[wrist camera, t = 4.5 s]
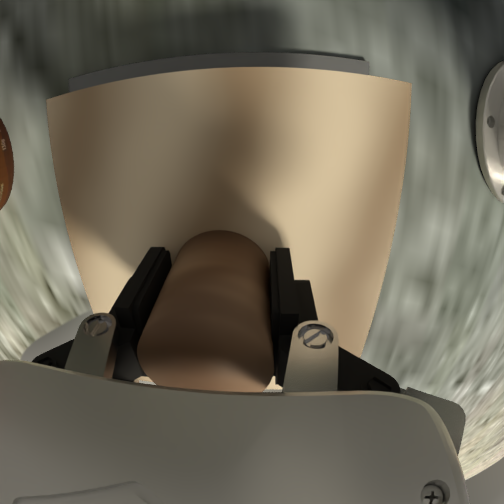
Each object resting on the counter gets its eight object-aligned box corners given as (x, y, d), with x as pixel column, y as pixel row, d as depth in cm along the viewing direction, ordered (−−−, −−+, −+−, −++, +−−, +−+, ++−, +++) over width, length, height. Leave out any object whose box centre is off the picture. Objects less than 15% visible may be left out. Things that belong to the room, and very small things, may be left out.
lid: (398, 83, 10) (502, 89, 4) (346, 371, 17) (364, 458, 12) (61, 97, 10) (-46, 121, 5) (127, 363, 18) (97, 442, 12)
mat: (366, 62, 14) (369, 61, 14) (335, 332, 24) (336, 335, 23) (71, 78, 14) (68, 78, 14) (120, 331, 24) (119, 334, 23)
